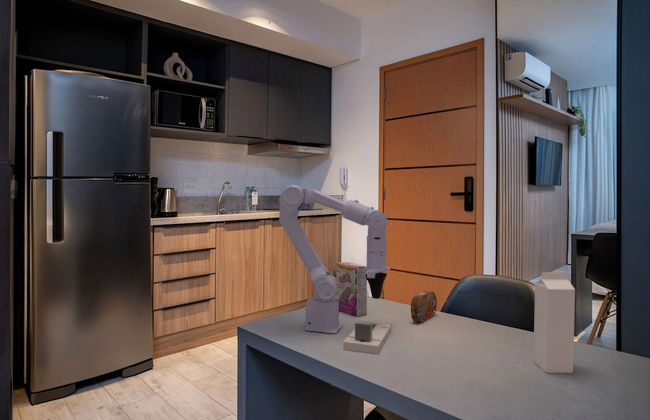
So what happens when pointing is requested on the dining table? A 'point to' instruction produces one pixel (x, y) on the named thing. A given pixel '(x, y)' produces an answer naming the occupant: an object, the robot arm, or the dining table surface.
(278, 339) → the dining table surface
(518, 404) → the dining table surface
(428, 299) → the tin
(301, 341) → the dining table surface
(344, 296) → the candy bar box
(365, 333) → the block
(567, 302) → the milk
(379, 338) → the console
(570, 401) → the dining table surface
